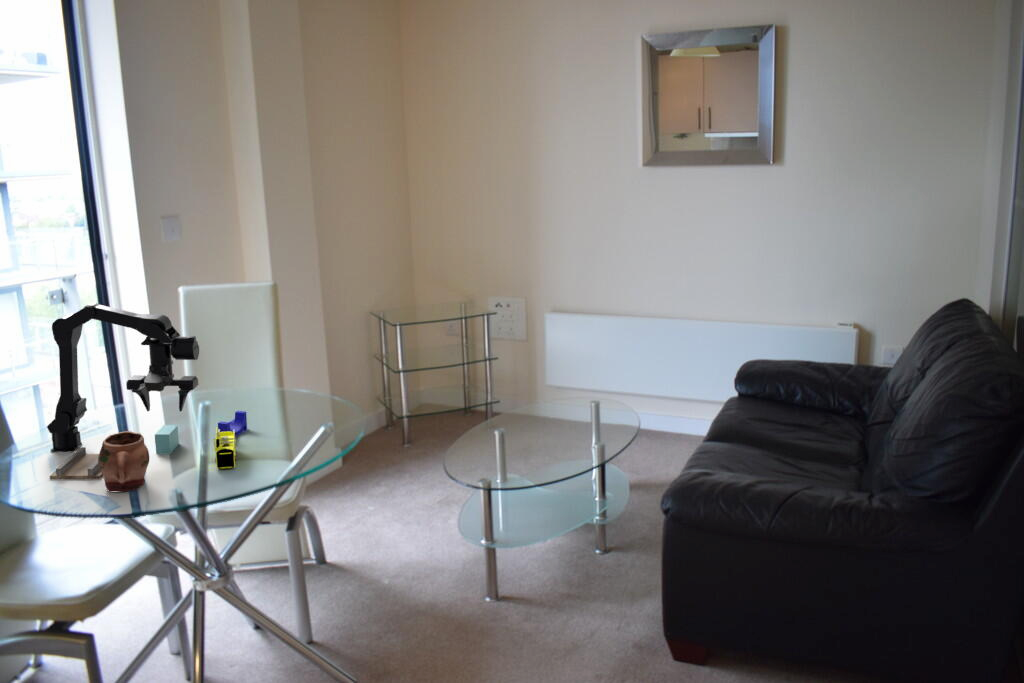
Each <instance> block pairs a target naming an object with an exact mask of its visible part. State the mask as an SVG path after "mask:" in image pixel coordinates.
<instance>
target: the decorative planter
mask: <svg viewBox="0 0 1024 683" xmlns="http://www.w3.org/2000/svg"><path fill="white" fill-rule="evenodd" d="M98 454H99V456H98V464H99V467H100V470H101V472H102V474H103V479H104V485H105V487H106V490H107V491H108V490H109V491H108V492H110V491H126V492H129V491H128V490H132V491H134V489H135V490H137V489H139V488H141V487H143V486H144V484H145V481H146V480H145V478H146V477H145V476H146V473H147V469H148V466H149V464H150V452H149V449H148V446H146V444H145V438H144V436H143V435H142V433H141V432H134V431H130V430H125V431H121V432H117V433H113V434H110V435H108V436H107V437H106V438H105V439H103V441H102V446H101V447H100V450H99V453H98Z"/></svg>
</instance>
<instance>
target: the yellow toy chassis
mask: <svg viewBox="0 0 1024 683" xmlns="http://www.w3.org/2000/svg"><path fill="white" fill-rule="evenodd" d="M215 428H216V429H215V437H214V441H213V442H214V443H213V444H214V451H215V457H214V459H215V460H214V461H215V464H216V465H215V466H216V469H220V470H226V469H229V470H230V469H232V468H236V460H237V453H236V448H237V443H236V441H237V439H236V437H235V431H234V432H231V431H227V432H220V429H218V426H216V427H215Z"/></svg>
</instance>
